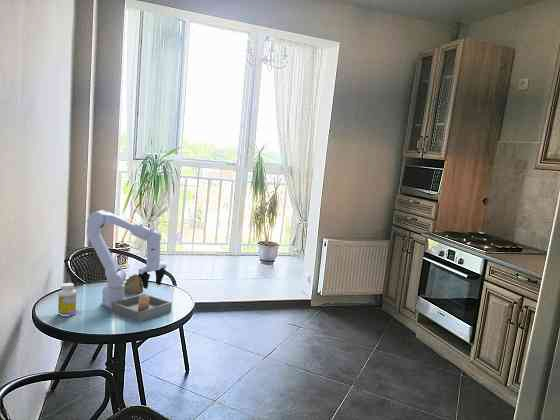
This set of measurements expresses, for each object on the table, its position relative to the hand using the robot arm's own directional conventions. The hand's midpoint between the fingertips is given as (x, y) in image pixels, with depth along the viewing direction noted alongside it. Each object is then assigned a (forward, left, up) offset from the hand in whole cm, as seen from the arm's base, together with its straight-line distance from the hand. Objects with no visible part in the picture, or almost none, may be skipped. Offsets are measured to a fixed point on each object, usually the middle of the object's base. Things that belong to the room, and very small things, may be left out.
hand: (151, 286), depth 190 cm
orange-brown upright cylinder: (+3, -7, -8) cm, 11 cm away
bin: (+2, -7, -9) cm, 12 cm away
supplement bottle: (-17, -30, -10) cm, 36 cm away
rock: (-22, +7, -10) cm, 25 cm away
